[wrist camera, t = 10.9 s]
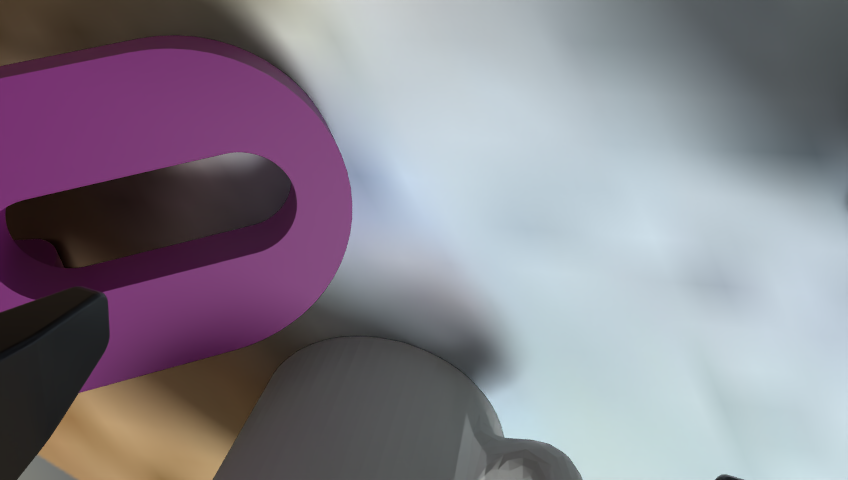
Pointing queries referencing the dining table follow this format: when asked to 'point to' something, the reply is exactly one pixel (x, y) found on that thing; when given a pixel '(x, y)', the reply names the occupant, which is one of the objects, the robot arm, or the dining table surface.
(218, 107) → the mounting bracket
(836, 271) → the dining table surface
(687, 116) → the dining table surface
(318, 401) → the coffee mug
